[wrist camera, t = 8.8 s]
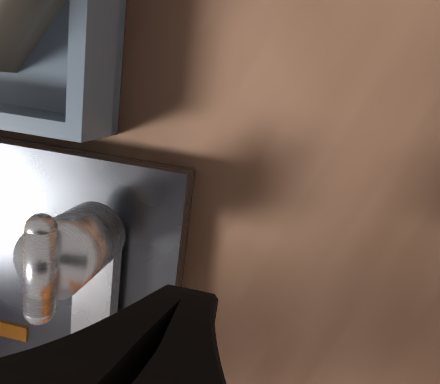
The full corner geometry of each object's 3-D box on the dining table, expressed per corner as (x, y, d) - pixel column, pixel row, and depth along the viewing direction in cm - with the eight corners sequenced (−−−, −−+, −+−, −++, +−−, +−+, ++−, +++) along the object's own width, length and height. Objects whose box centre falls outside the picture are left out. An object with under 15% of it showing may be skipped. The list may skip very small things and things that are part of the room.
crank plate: (-57, 340, 21) (-79, 355, 20) (-67, 125, 18) (-93, 128, 17) (168, 395, 19) (159, 416, 18) (195, 169, 17) (186, 175, 15)
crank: (127, 392, 18) (69, 495, 13) (64, 376, 18) (-14, 471, 14) (145, 189, 16) (82, 228, 11) (72, 176, 16) (-18, 208, 11)
